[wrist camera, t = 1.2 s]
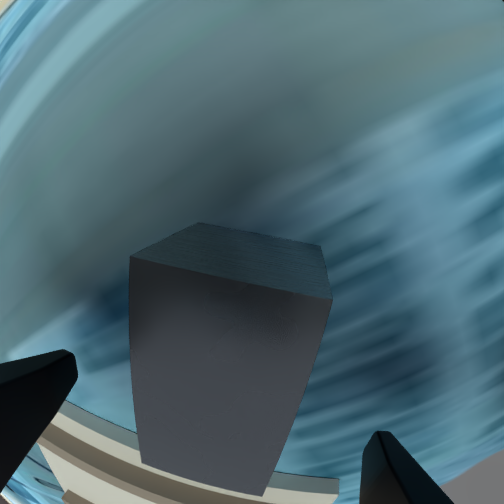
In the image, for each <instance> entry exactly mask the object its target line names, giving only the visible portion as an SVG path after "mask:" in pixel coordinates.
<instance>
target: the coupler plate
mask: <svg viewBox="0 0 504 504" xmlns="http://www.w3.org/2000/svg"><path fill="white" fill-rule="evenodd" d="M36 442H37V443H38V444H39V447H40V449H41V451H42V453H43V454H44V456H45V458H46V460H47V462H48V464H49V466H50V468H51V469H52V471H53V473H54V475H55V476H56V478H57V480H58V482H59V483H60V485H61V487H62V488H63V490H64V491H65V494H64V495H63V497H62V498H61V499H62V500H63V502H64V503H65V504H332V503H333V502H334V500H335V499H336V498H337V497H338V495H339V479H329V478H318V477H308V476H300V475H292V474H285V473H278V472H273V474H272V476H271V478H270V481H269V483H268V485H267V488H266V490H265V492H264V494H263V496H262V497H260V496H254V495H249V494H244V493H239V492H235V491H230V490H226V489H222V488H218V487H214V486H210V485H206V484H202V483H199V482H195V481H192V480H189V479H185V478H182V477H179V476H176V475H173V474H170V473H167V472H164V471H161V470H159V469H156V468H153V467H150V466H148V465H145V464H143V463H141V456H140V450H139V443H138V436H137V434H136V433H134V432H131V431H129V430H126V429H124V428H121V427H119V426H117V425H115V424H112V423H110V422H108V421H106V420H103V419H101V418H99V417H97V416H95V415H93V414H91V413H89V412H87V411H85V410H83V409H81V408H79V407H77V406H75V405H73V404H71V403H69V402H67V401H66V400H65V401H64V403H63V404H62V406H61V408H60V409H59V411H58V412H57V414H56V415H55V417H54V418H53V420H52V421H51V422H50V424H49V425H48V426H47V428H46V429H45V430H44V432H43V433H42V434H41V436H40V437H39V439H38V440H37V441H36Z"/></svg>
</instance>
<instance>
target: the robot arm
mask: <svg viewBox="0 0 504 504" xmlns="http://www.w3.org/2000/svg"><path fill="white" fill-rule="evenodd" d="M77 378H78V370H77V365H76V359H75V356H74V354H73V353H71V352H69V351H67V350H64V349H61V350H57V351H53V352H49V353H44V354H40V355H36V356H32V357H28V358H23V359H19V360H15V361H10V362H6V363H1V364H0V493H1V492H2V490H3V489H4V487H5V486H6V484H7V483H8V481H9V480H10V478H11V477H12V475H13V474H14V472H15V471H16V469H17V468H18V467H19V465H20V464H21V462H22V461H23V459H24V458H25V457H26V455H27V454H28V452H29V451H30V450H31V448H32V447H33V445H34V444H35V443H36V441H37V440H38V439H39V437H40V436H41V434H42V433H43V432H44V430H45V429H46V428H47V426H48V425H49V424H50V422H51V421H52V420H53V418H54V417H55V415H56V414H57V412H58V411H59V409H60V408H61V406H62V404H63V403H64V401H65V399H66V397H67V396H68V394H69V392H70V391H71V389H72V388H73V386H74V384H75V383H76V381H77ZM359 504H454V503H453V502H452V501H451V499H450V498H449V497H448V496H447V495H446V494H445V493H444V492H443V491H442V489H441V488H440V487H439V486H438V485H437V484H436V483H435V482H434V481H433V479H432V478H431V477H430V476H429V475H428V474H427V473H426V472H425V471H424V469H423V468H422V467H421V466H420V465H419V464H418V463H417V462H416V460H415V459H414V458H413V457H412V456H411V455H410V454H409V453H408V451H407V450H406V449H405V448H404V447H403V446H402V445H401V444H400V442H399V441H398V440H397V439H396V438H395V437H394V436H393V434H392V433H391V432H389V431H376V432H374V434H373V435H372V437H371V439H370V440H369V442H368V443H367V445H366V447H365V448H364V451H363V456H362V472H361V485H360V497H359Z"/></svg>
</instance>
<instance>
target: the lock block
mask: <svg viewBox="0 0 504 504" xmlns="http://www.w3.org/2000/svg"><path fill="white" fill-rule="evenodd" d="M332 301H333V298H332V293H331V289H330V284H329V280H328V275H327V271H326V267H325V262H324V258H323V254H322V250H321V246H317V245H312V244H307V243H302V242H297V241H292V240H287V239H282V238H277V237H272V236H267V235H262V234H257V233H252V232H246V231H241V230H236V229H231V228H225V227H220V226H215V225H209V224H204V223H199V222H198V223H196V224H194V225H192V226H190V227H188V228H185V229H183V230H181V231H179V232H177V233H175V234H173V235H171V236H169V237H167V238H165V239H163V240H161V241H159V242H157V243H155V244H153V245H151V246H149V247H147V248H145V249H143V250H141V251H139V252H137V253H135V254H133V255H131V256H130V266H129V339H130V361H131V377H132V390H133V401H134V411H135V420H136V428H137V436H138V443H139V450H140V456H141V463H143V464H145V465H148V466H150V467H153V468H156V469H159V470H161V471H164V472H167V473H170V474H173V475H176V476H179V477H182V478H185V479H189V480H192V481H195V482H199V483H202V484H206V485H210V486H214V487H218V488H222V489H226V490H230V491H235V492H239V493H244V494H249V495H254V496H260V497H262V496H263V494H264V492H265V490H266V488H267V485H268V483H269V481H270V478H271V476H272V474H273V472H274V469H275V467H276V464H277V462H278V460H279V457H280V455H281V452H282V450H283V447H284V445H285V442H286V440H287V437H288V435H289V432H290V430H291V427H292V424H293V422H294V419H295V416H296V414H297V411H298V408H299V406H300V403H301V400H302V397H303V394H304V391H305V389H306V386H307V383H308V380H309V377H310V374H311V371H312V368H313V365H314V362H315V359H316V355H317V352H318V349H319V346H320V343H321V339H322V336H323V333H324V329H325V326H326V323H327V319H328V316H329V312H330V309H331V305H332Z"/></svg>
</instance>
